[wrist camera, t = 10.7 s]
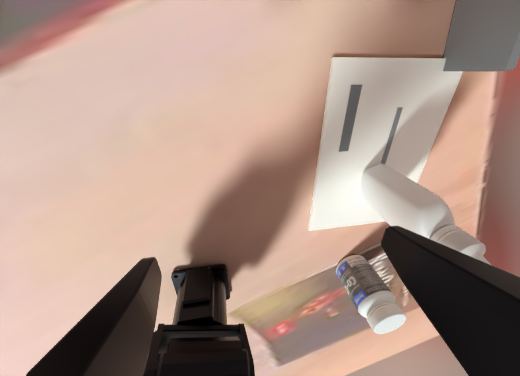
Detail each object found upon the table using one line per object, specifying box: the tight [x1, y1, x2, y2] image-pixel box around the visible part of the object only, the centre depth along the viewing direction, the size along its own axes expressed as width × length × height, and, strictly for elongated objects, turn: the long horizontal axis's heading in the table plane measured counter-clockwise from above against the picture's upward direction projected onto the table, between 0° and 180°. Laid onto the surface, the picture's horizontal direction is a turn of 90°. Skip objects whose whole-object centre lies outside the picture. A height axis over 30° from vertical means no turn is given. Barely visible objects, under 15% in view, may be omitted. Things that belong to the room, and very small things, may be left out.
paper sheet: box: [308, 57, 463, 231], centre depth 22 cm, size 18×13×1 cm
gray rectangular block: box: [443, 0, 520, 71], centre depth 15 cm, size 8×1×5 cm, turn 10°
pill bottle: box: [336, 255, 406, 334], centre depth 27 cm, size 5×5×8 cm
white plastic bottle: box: [361, 163, 491, 265], centre depth 19 cm, size 4×6×12 cm
